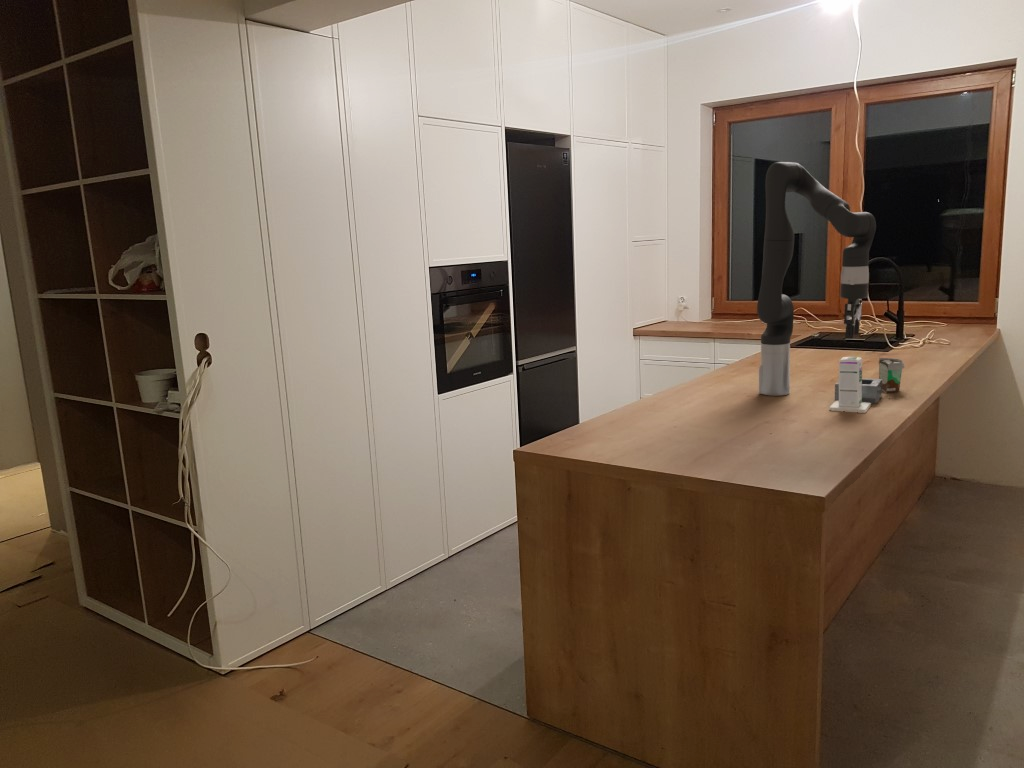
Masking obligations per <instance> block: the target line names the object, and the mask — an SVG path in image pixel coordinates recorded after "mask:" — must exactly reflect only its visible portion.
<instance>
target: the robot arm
mask: <svg viewBox="0 0 1024 768" xmlns="http://www.w3.org/2000/svg"><path fill="white" fill-rule="evenodd" d="M792 192H793V193H795V194H797V195H800V196H803V197H804V198H805V199H807V201H808V202H809V204H810V206H811V208H812V209H813V210H814V212H816V213H817V214H818V215H820V216H821V218H822V217H823V218H824V220H825V219H826V221H828V222H830V224H831V225H832V227H833V228H834V229H835V231H836V232H837V233H838V234H840V235H841V236H844V237H846V238H852V241H851V243H850V245H848V246H847V245H846V247H844V248H843V250H842V267H841V273H840V289H839V291H840V292H839V297H840V298H841V299H847V303H845V304H844V314H843V316H844V317H843V324H844V325H845V335H844V337H845V339H854V338H855V335H858V334H860V322H861V319H862V318H863V317H862V307H863V306H862V305H863V300H862V299H867V298H868V296H869V283H870V281H869V280H870V272H869V271H870V270H869V263H870V261H869V260H870V259H869V258H870V254H869V253H870V250H871V247H872V245H873V244H872V243H873V240H874V238H875V233H876V231H877V230H876V229H877V222H876V218H875V216H874V215H873V214H872V213H870V212H867V211H860V212H853V211H851V207H850V204H849V203H848V201H846V200H844V199H843V198H841V197H840V196H838V195H836V194H835V193H833V192H832V191H830V190H829V189H828V188H826V187H825V186H824V185H823V184H821V183H820V182H819V181H818V180H817V179H816V178H815V177H814V176H812V174H810V172H809V171H808V170H807V169H806V168H805V167H804V166H803V165H801V164H800V163H798V162H793V161H792V162H791V161H777V162H773V163H771V164H770V166H769V167H768V169H767V171H766V174H765V228H764V238H763V239H764V240H763V254H762V255H763V256H762V259H763V260H762V270H761V281H760V287H759V293H758V299H757V304H756V312H757V316H758V318H759V320H760V321H761V322H762V323H763V324H766V328H765V330H764V332H763V333H762V334H761V335H760V365H759V366H758V394H760V395H765V396H775V397H776V396H787V395H789V394H790V389H791V388H790V387H791V385H790V383H791V382H790V381H791V379H790V378H791V377H790V376H791V373H790V372H791V371H790V367H791V366H790V365H791V337H792V334H793V331H794V316H795V315H794V314H795V309H794V304H793V303H794V302H793V301H792V299H791V298H790V297H789V296H788V295H786V294H784V293H783V284H784V278H785V276H786V273H787V271H788V268H789V267H790V264H791V262H792V260H793V259H792V258H793V255H794V246H795V245H794V244H795V230H794V227H793V226H792V223H791V220H790V218H789V215H788V213H787V210H786V195H787V194H786V193H792Z"/></svg>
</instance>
